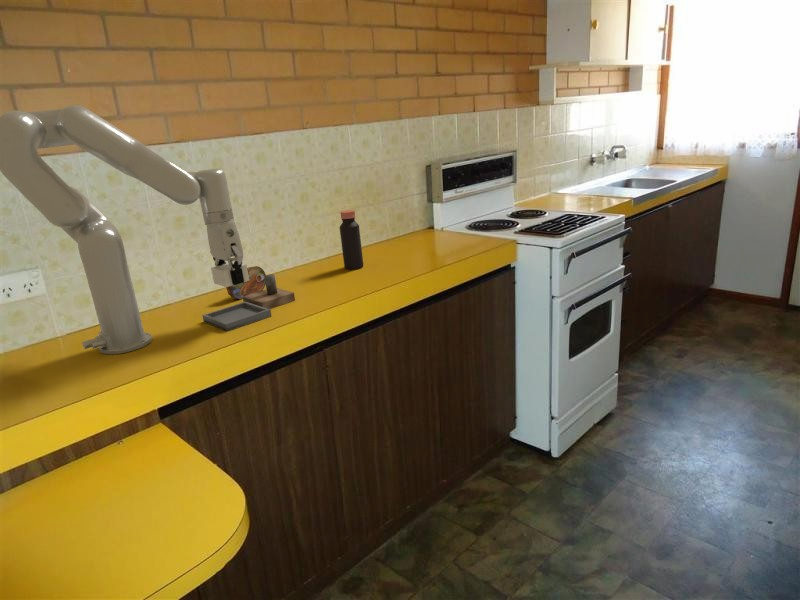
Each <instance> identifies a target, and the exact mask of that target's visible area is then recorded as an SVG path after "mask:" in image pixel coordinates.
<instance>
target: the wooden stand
mask: <svg viewBox="0 0 800 600" xmlns="http://www.w3.org/2000/svg"><path fill="white" fill-rule="evenodd" d="M264 277H265V283H266V285H265V288H266V289H263V290H262V291H260V292H257V293H253V294H250V295H247V296H244V297H243V299H242V303H243V302H248V303H252V304H255V305H258V306H261V307H264V308H267V309H270V310H272V309H274V308H276V307H279V306H283V305H286V304H289V303H291V302H292V303H293V302H294V301H296V299H295V298H296V297H295V292H294V291H291V290H290V291H289V290H286V289H282V288H278V287H277V281H276V275H275V274H273V273H272V274H271V273H269V274H266V276H264Z"/></svg>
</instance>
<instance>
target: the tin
mask: <svg viewBox="0 0 800 600" xmlns="http://www.w3.org/2000/svg"><path fill="white" fill-rule="evenodd" d="M247 270H248V275H249V281H246V282H243V283H240V284H237V285H232V286H229V287H225V288H226V292H227V294H228V295H229V297H231V298H232V299H238V300H243V297H244V296H247V295H250V294H253V293H257V292H260V291H263V290H265V289H264V288H266V283H265V277H264V276H266V275H267V274H266V272H265V270H264V269H263V268H262V267H260V266H257V265H255V266H249V267H248V266H247Z"/></svg>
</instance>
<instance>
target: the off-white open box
mask: <svg viewBox="0 0 800 600" xmlns="http://www.w3.org/2000/svg"><path fill="white" fill-rule="evenodd" d="M234 262H235V261H232V263H233V264H234ZM247 268H248V266H247V264H246V263H242V272H243V277H244V282H246V281H249V275H248V270H247ZM210 270H211V274H212V279H213V283H214V284H215V285H217V286H221V287H224V288H226V287H229V286H232V285H233V283H232V278H231V273H230V271H231V268H230V265H229V263H228V262H226V264H223V265H220V266H213V267H210Z"/></svg>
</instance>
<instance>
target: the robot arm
mask: <svg viewBox="0 0 800 600" xmlns="http://www.w3.org/2000/svg"><path fill="white" fill-rule="evenodd" d="M73 145H75V146H77V147H78V148H80V149H82V150H83V151H86V152H88V153H89V154H91V155H92V156H94V157H96V158H98V159H99V160H101V161H102V162H104V163H106V164H107V165H109V166H111V167H113V168H114V169H116V170H118V171H119V172H121V173H123V174H124V175H126V176H129V177H131V178H133V179H136V180H138V181H139V182H141V183H143V184H145V185H147V186H149V187H150V188H152V189H154V190H156V191H157V192H158V193H160V194H162V195H164V196H165V197H167V198H168V199H170V200H172V201H173V202H175V203H177V204H178V205H185V206H189V205H192V204H194V203H195V202H197V200H198V199H199V204H200V207H201V212H202V217H203V222H204V225H205V226H206V232H207V240H208V246H209V250H210V251H209V252H210V254H211V256H212V259H213V261H214V267H216V266H220V265H223V264H227V263H229V265H230V268H231V271H230V273H231V278H232V283H233V285H237V284H240V283H243V282H244V277H243V272H242V264H243V260H244V250H243V244H242V242H241V239H240V234H239V230H238V227H237V224H236V222H235V218H234V214H233V209H232V202H231V198H230V191H229V187H228V182H227V178H226V177H227V176H226V173H225V171H224V170H223V169H221V168H210V169H203V170H199V171H193V172H192V171H190V172H188V171H187V172H186V171H185V170H183V169H182V168H180V167H178V166H177V165H176V164H174V163H172V162H171V161H170V160H168V159H165V158H164V157H162V156H161V155H159V154H158V153H156V152H155V151H153V150H151V149H150V148H149V147H148V146H146V145H145V144H144V143H142V142H141V141H140V140H138V139H136V138H135V137H133V136H131V135H130V134H127V133H126V132H125V131H123V130H122V129H120V128H118V127H117V126H115V125H114V124H112V123H111V122H109V121H107V120H106V119H105V118H103V117H101V116H99V115H98V114H96V113H95V112H93V111H92V110H89V109H88V108H87V107H84V106H83V105H78V104H72V105H68V106H65V107H64V108H59V109H48V110H36V111H23V110H18V109H17V110H14V109H13V110H9V111H6V112H4V113H2V114H0V173H2V175H3V176H4V177H5V179H7V180H8V181H9V183H11V185H12V186H14V187H15V189H17V190H18V191H19V192H20V194H22V196H24V198H25V199H27V200H28V202H29V203H31V205H32V206H34V207H35V208H36V209H37V210H38V211H39V213H40V214H42V215H43V217H44V218H45V219H46V220H47V221H48V222H49V223H51V224H52V225H53V226H56V227H57V228H60V229H62V231H64V232H65V233H66V234H68V236H69V237H70V238H72V240H73V241H75V242H76V243H77V248H78V251H79V252H78V253H79V257H80V259H81V263H82V265H83V269H84V273H85V276H86V279H87V283H88V287H89V291H90V294H91V298H92V301H93V306H94V310H95V312H96V316H97V320H98V324H99V327H100V331H99V332H97V334H98V335H97V336H96V335H95V338H92V339H88V340H84V341H82V343H81V344H82V346H83V349H84V350H86V349H90V348H92V350H93V349H96V348H98V351H99V352H100V353H101V354H104V355H119V354H124V353H129V352H133V351H136V350H138V349H141V348H143V347H145V346H147V345H149V344H150V343H151V342H152V341H153V336H152V334H151V332H146V331H144V326H143V322H142V318H141V313H140V311H139V306H138V305H139V304H138V301H137V297H136V293H135V290H134V285H133V282H132V278H131V273H130V268H129V265H128V260H127V256H126V252H125V245H124V242H123V238H122V236H121V234H120V232H119V230H118V228H117V227H116V226H115V225H114V223H112V221H110V220H109V219H108V218H107V217H106V215H104V214H103V213H102V212H101V210H99V209H98V208H97V207H96V206H95V205H94V203H93V202H91V201H90V200H89V198H87V196H85V194H84V193H82V192H81V191H80V190H79V189H77V188H75V187H73V186H70V185H68V183H66V182H65V181H64V180H63V179H62V178H61V176H59V175H58V174H57V173H56V172H55V171H54V169H53V168H52V167H51V166H50V165H49V164H48V163H46V162H45V160H44V159H43V158H42V157H41V155H40V154H39V151H38V150H42V149H47V148H50V149H51V148H56V147H66V146H73ZM232 262H234V264H233V263H232Z"/></svg>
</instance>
